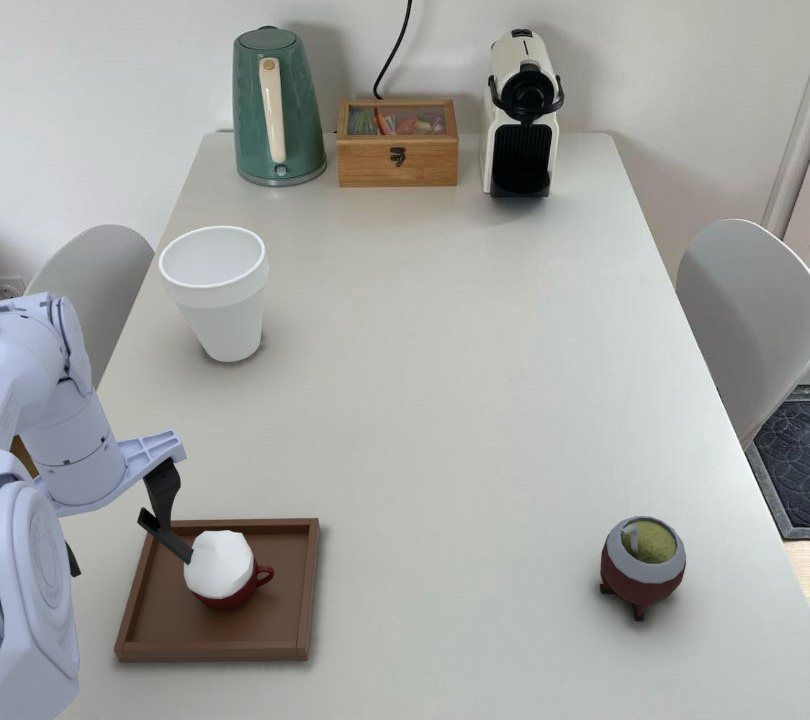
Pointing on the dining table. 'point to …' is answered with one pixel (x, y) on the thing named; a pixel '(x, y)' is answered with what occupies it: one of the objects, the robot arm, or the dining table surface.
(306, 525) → the tray
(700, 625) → the dining table surface
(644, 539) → the mate gourd
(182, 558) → the cocoa
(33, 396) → the robot arm
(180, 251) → the cup
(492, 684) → the dining table surface
